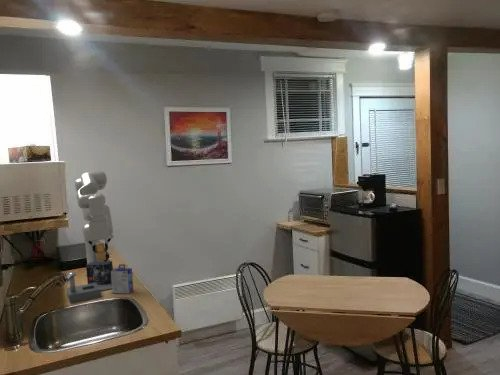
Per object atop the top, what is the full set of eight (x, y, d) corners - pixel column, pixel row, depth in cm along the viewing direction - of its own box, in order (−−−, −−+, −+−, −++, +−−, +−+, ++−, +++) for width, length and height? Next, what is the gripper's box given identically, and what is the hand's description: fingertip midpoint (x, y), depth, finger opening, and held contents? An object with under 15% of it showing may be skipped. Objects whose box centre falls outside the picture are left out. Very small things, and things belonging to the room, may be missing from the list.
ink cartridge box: (134, 290, 237) (132, 263, 236) (129, 293, 232) (127, 266, 230) (117, 290, 239) (115, 263, 238) (112, 293, 234) (109, 266, 233)
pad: (96, 287, 246) (96, 286, 246) (113, 284, 250) (113, 283, 250) (99, 291, 238) (99, 290, 238) (116, 288, 242) (116, 287, 242)
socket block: (67, 295, 235) (65, 274, 234) (96, 289, 242) (94, 269, 241) (70, 303, 223) (67, 280, 222) (101, 296, 229) (99, 275, 228)
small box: (87, 285, 250) (85, 265, 249) (91, 282, 257) (89, 261, 256) (110, 284, 250) (108, 263, 249) (114, 280, 257) (112, 260, 256)
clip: (68, 275, 230) (67, 270, 230) (76, 274, 231) (76, 269, 231) (61, 283, 216) (61, 279, 215) (70, 282, 216) (69, 278, 216)
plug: (97, 261, 238) (94, 245, 237) (96, 259, 243) (94, 243, 242) (107, 260, 240) (105, 243, 239) (106, 257, 245) (104, 242, 244)
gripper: (81, 221, 232) (84, 255, 234) (114, 217, 239) (117, 250, 241) (80, 219, 239) (83, 252, 241) (113, 215, 246) (116, 247, 248)
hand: (100, 251), depth 241 cm, fingers closed on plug, 5 cm apart
